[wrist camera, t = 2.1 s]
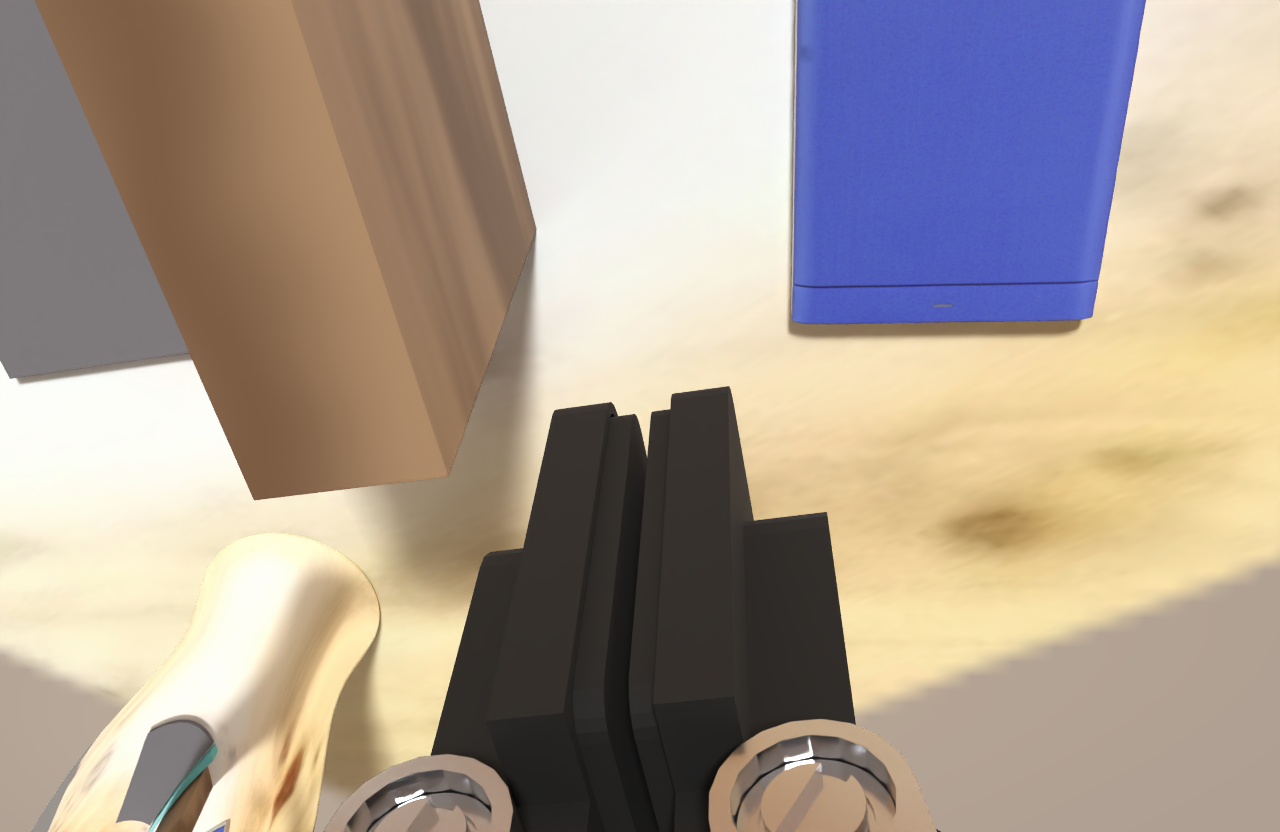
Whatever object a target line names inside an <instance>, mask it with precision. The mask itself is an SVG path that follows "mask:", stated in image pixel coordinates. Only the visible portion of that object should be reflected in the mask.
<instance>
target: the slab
mask: <svg viewBox="0 0 1280 832" xmlns="http://www.w3.org/2000/svg"><path fill="white" fill-rule="evenodd" d="M35 2H36V4H37V7H38V9H39V11H40V13H41V16H42V18H43V20H44V23H45V25H46V27H47V29H48V32H49V34H50V36H51V39H52V41H53V43H54V45H55V48H56V50H57V52H58V54H59V57H60V59H61V61H62V64H63V66H64V68H65V70H66V73H67V75H68V77H69V80H70V82H71V84H72V86H73V89H74V91H75V93H76V96H77V98H78V100H79V102H80V105H81V107H82V109H83V111H84V114H85V116H86V118H87V121H88V123H89V125H90V127H91V130H92V132H93V134H94V137H95V139H96V141H97V143H98V146H99V148H100V150H101V152H102V155H103V157H104V159H105V162H106V164H107V166H108V168H109V171H110V173H111V175H112V178H113V180H114V182H115V184H116V187H117V189H118V191H119V194H120V196H121V198H122V200H123V203H124V205H125V207H126V209H127V212H128V214H129V216H130V219H131V221H132V223H133V225H134V228H135V230H136V232H137V235H138V237H139V239H140V241H141V244H142V246H143V248H144V251H145V253H146V255H147V257H148V260H149V262H150V264H151V266H152V269H153V271H154V273H155V276H156V278H157V280H158V282H159V285H160V287H161V289H162V292H163V294H164V296H165V298H166V301H167V303H168V305H169V308H170V310H171V312H172V314H173V317H174V319H175V321H176V323H177V326H178V328H179V330H180V333H181V335H182V337H183V339H184V342H185V344H186V346H187V349H188V351H189V353H190V355H191V358H192V360H193V362H194V365H195V367H196V369H197V371H198V374H199V376H200V378H201V380H202V383H203V385H204V387H205V390H206V392H207V394H208V396H209V399H210V401H211V403H212V406H213V408H214V410H215V412H216V415H217V417H218V419H219V422H220V424H221V426H222V428H223V431H224V433H225V435H226V437H227V440H228V442H229V444H230V447H231V449H232V451H233V453H234V456H235V458H236V460H237V463H238V465H239V467H240V469H241V472H242V474H243V476H244V479H245V481H246V483H247V485H248V488H249V490H250V492H251V494H252V497H253V499H254V500H260V499H269V498H277V497H285V496H293V495H301V494H310V493H318V492H326V491H334V490H342V489H351V488H359V487H367V486H375V485H384V484H392V483H400V482H408V481H416V480H425V479H433V478H441V477H448V476H449V473H450V471H451V468H452V465H453V462H454V459H455V457H456V454H457V451H458V448H459V445H460V443H461V440H462V437H463V434H464V431H465V429H466V426H467V423H468V420H469V417H470V414H471V412H472V409H473V406H474V403H475V400H476V398H477V395H478V392H479V389H480V386H481V384H482V381H483V378H484V375H485V372H486V370H487V367H488V364H489V361H490V358H491V355H492V353H493V350H494V347H495V344H496V341H497V339H498V336H499V333H500V330H501V327H502V325H503V322H504V319H505V316H506V313H507V311H508V308H509V305H510V302H511V299H512V297H513V294H514V291H515V288H516V285H517V282H518V280H519V277H520V274H521V271H522V268H523V266H524V263H525V260H526V257H527V254H528V252H529V249H530V246H531V243H532V240H533V238H534V235H535V232H536V226H535V222H534V218H533V214H532V210H531V206H530V202H529V198H528V194H527V190H526V186H525V182H524V178H523V174H522V170H521V166H520V162H519V158H518V154H517V150H516V146H515V143H514V139H513V135H512V131H511V127H510V123H509V119H508V115H507V111H506V107H505V103H504V99H503V95H502V91H501V87H500V83H499V79H498V75H497V71H496V67H495V63H494V59H493V55H492V51H491V47H490V43H489V39H488V35H487V31H486V27H485V23H484V19H483V15H482V11H481V7H480V3H479V0H35Z"/></svg>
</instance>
